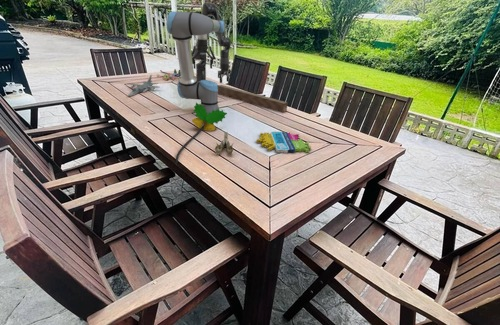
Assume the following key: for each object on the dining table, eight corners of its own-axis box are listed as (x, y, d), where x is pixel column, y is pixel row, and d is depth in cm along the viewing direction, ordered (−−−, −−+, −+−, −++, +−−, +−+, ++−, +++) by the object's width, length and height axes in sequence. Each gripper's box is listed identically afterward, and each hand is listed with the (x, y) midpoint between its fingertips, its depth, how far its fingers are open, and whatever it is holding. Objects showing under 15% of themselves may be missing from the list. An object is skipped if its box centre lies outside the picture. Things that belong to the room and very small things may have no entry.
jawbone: (234, 135, 144) (233, 125, 135) (233, 160, 138) (232, 151, 129) (217, 135, 144) (216, 125, 135) (216, 160, 138) (214, 150, 129)
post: (286, 111, 205) (287, 102, 202) (282, 112, 202) (284, 103, 198) (221, 92, 242) (221, 84, 238) (217, 93, 238) (217, 85, 235)
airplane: (122, 86, 238) (120, 75, 233) (157, 84, 251) (156, 73, 246) (126, 99, 210) (124, 86, 204) (166, 95, 223) (165, 83, 218)
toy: (189, 70, 290) (176, 74, 264) (189, 77, 293) (177, 81, 267) (166, 67, 295) (151, 71, 269) (167, 74, 298) (152, 78, 272)
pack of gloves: (313, 150, 142) (258, 149, 139) (312, 153, 143) (258, 152, 140) (301, 132, 164) (254, 130, 161) (301, 134, 165) (254, 133, 162)
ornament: (218, 133, 171) (224, 110, 169) (221, 134, 163) (227, 111, 161) (186, 125, 162) (192, 101, 160) (189, 126, 155) (195, 101, 153)
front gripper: (216, 39, 207) (216, 67, 217) (184, 38, 196) (186, 67, 207) (219, 40, 201) (219, 69, 211) (187, 39, 191) (188, 69, 201)
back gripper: (227, 61, 231) (226, 80, 238) (215, 63, 221) (215, 82, 228) (233, 62, 227) (232, 82, 235) (221, 64, 217) (221, 84, 225)
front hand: (202, 68), depth 209 cm, fingers open, 13 cm apart
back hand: (224, 82), depth 231 cm, fingers open, 8 cm apart
